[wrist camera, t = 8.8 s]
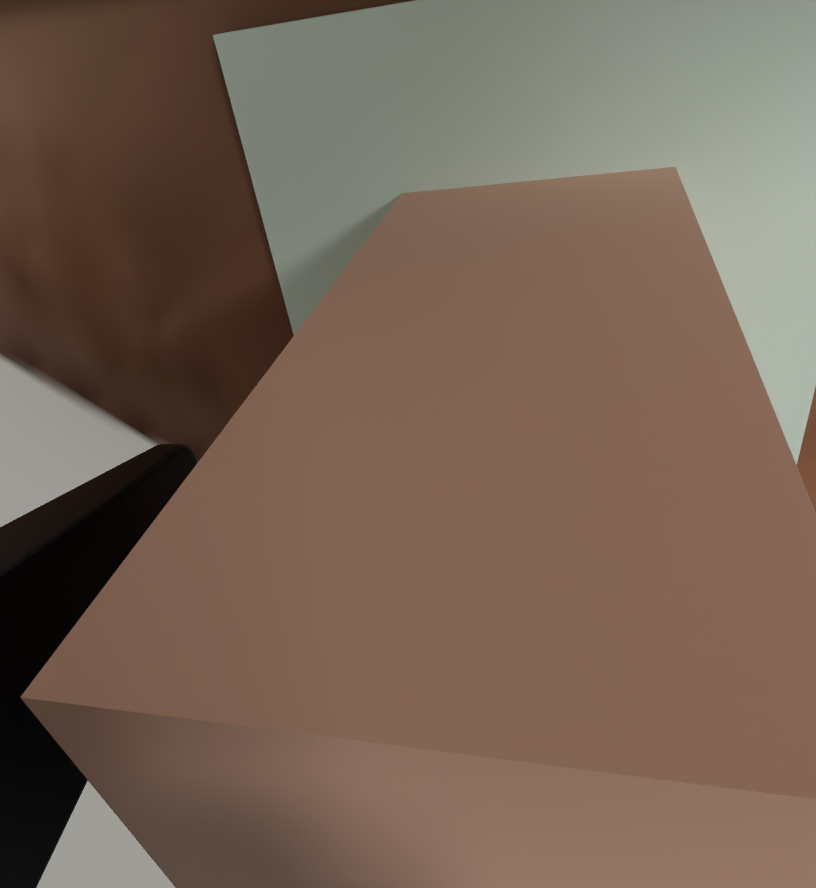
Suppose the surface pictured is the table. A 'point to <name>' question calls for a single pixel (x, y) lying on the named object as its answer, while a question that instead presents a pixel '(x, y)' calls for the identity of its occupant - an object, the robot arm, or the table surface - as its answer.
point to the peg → (475, 579)
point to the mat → (547, 134)
